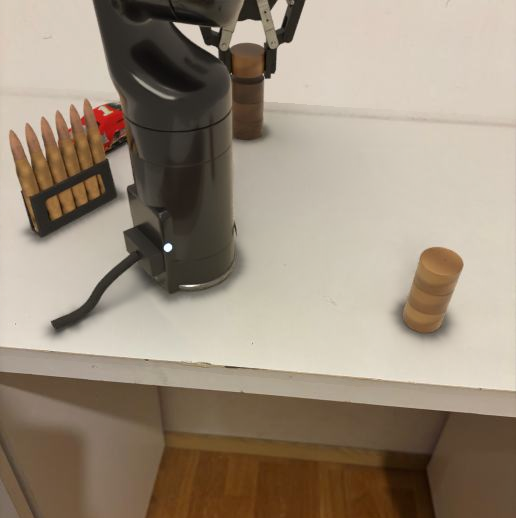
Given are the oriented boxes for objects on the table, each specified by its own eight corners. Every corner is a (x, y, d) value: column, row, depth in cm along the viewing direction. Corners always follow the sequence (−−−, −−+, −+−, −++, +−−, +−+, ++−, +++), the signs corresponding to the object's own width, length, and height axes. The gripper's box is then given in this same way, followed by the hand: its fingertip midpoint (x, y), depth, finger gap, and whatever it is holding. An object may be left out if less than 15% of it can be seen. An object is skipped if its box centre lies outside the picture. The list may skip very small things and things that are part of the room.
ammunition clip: (108, 190, 69) (87, 92, 60) (117, 196, 69) (98, 98, 59) (31, 230, 64) (-4, 130, 55) (41, 237, 63) (7, 137, 54)
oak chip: (243, 81, 71) (243, 60, 69) (223, 68, 73) (222, 48, 71) (271, 72, 73) (272, 51, 71) (250, 59, 75) (250, 39, 73)
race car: (78, 171, 72) (70, 141, 69) (51, 155, 74) (43, 126, 71) (155, 130, 79) (151, 101, 76) (128, 116, 81) (123, 88, 78)
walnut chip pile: (243, 143, 77) (243, 88, 71) (224, 130, 79) (223, 75, 73) (269, 133, 79) (271, 79, 73) (249, 120, 81) (250, 66, 75)
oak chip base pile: (423, 339, 55) (444, 281, 49) (394, 315, 57) (411, 257, 51) (449, 321, 56) (472, 263, 50) (420, 299, 58) (439, 241, 52)
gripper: (181, -76, 57) (193, 93, 70) (322, -78, 59) (307, 88, 72) (178, -95, 62) (189, 66, 75) (308, -97, 63) (297, 62, 76)
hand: (247, 76), depth 73 cm, fingers closed on oak chip, 4 cm apart
